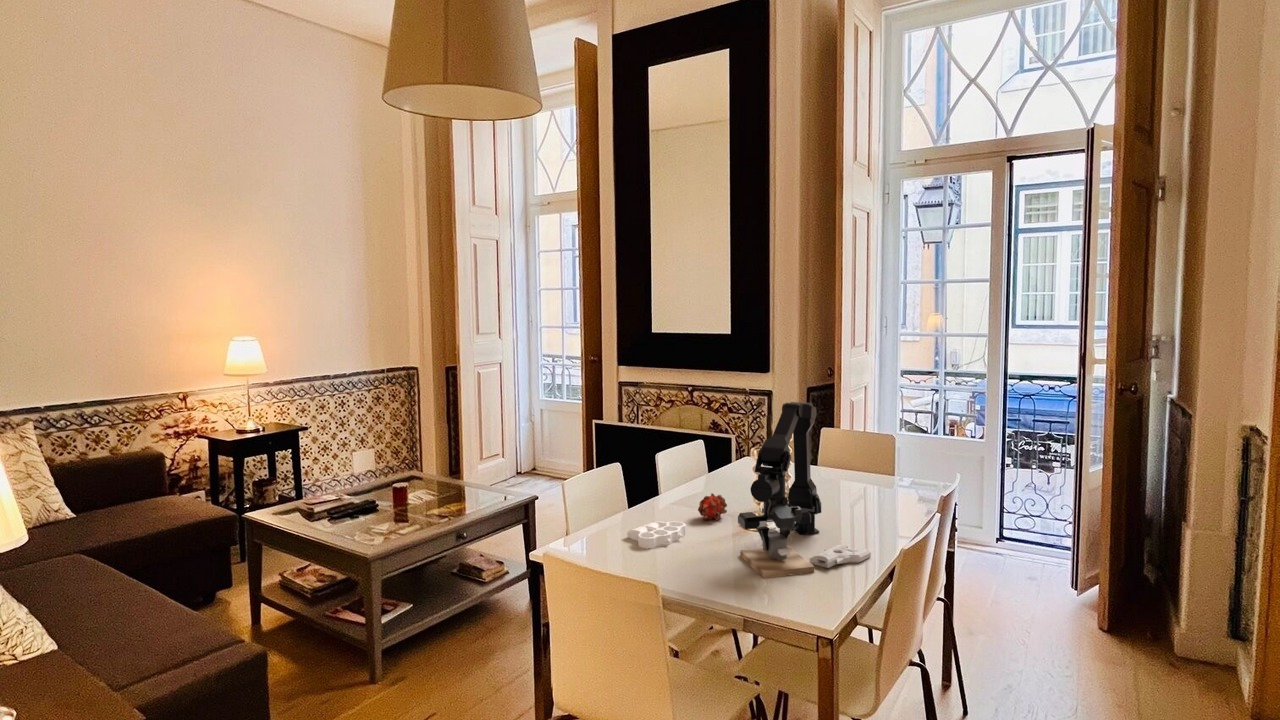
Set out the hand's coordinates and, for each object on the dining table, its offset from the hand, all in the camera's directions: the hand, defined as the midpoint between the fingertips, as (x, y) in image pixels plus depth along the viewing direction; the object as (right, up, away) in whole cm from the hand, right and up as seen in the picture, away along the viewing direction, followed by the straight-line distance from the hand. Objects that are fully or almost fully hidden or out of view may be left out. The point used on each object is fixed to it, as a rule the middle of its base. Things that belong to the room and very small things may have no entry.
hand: (774, 549), depth 186 cm
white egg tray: (-30, -3, +21) cm, 37 cm away
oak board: (0, -4, -1) cm, 4 cm away
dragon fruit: (-13, -1, +38) cm, 40 cm away
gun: (+18, -4, +1) cm, 18 cm away
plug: (0, -1, 0) cm, 1 cm away
